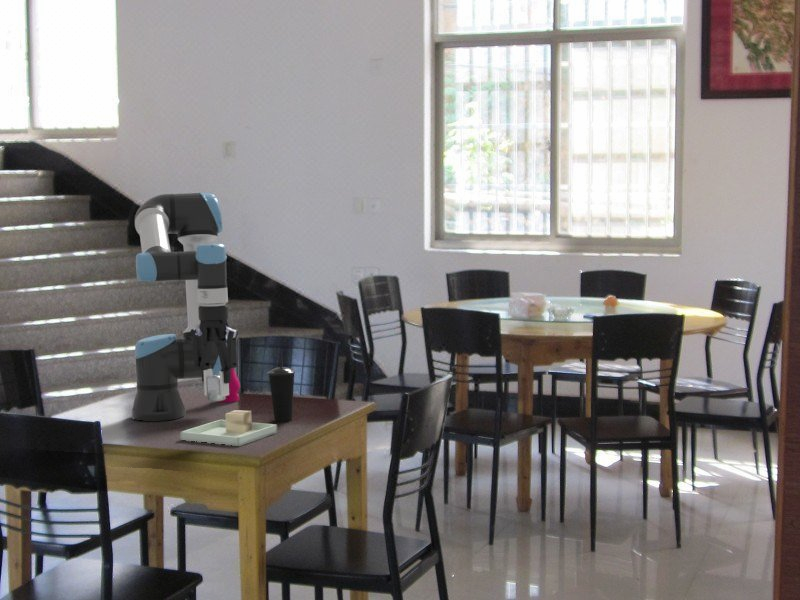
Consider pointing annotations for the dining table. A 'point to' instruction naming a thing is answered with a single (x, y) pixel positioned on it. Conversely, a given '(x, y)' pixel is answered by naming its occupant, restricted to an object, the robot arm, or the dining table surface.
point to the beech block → (238, 421)
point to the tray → (218, 435)
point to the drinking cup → (282, 391)
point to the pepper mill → (233, 388)
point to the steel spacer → (214, 388)
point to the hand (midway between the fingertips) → (216, 395)
